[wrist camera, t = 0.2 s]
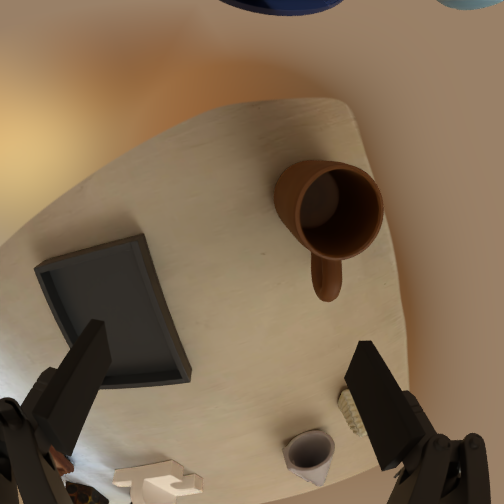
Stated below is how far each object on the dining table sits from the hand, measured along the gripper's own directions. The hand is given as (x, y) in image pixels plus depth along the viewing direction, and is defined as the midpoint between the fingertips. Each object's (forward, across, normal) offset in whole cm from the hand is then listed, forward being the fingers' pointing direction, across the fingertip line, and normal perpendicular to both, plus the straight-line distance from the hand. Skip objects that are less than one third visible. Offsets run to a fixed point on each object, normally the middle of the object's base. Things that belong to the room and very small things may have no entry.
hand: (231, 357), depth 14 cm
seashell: (+18, +23, -24) cm, 37 cm away
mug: (+18, +7, +4) cm, 20 cm away
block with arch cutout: (+16, -12, -52) cm, 56 cm away
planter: (+17, +21, -44) cm, 51 cm away
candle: (+14, -37, -77) cm, 87 cm away
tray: (+17, -14, -11) cm, 24 cm away
